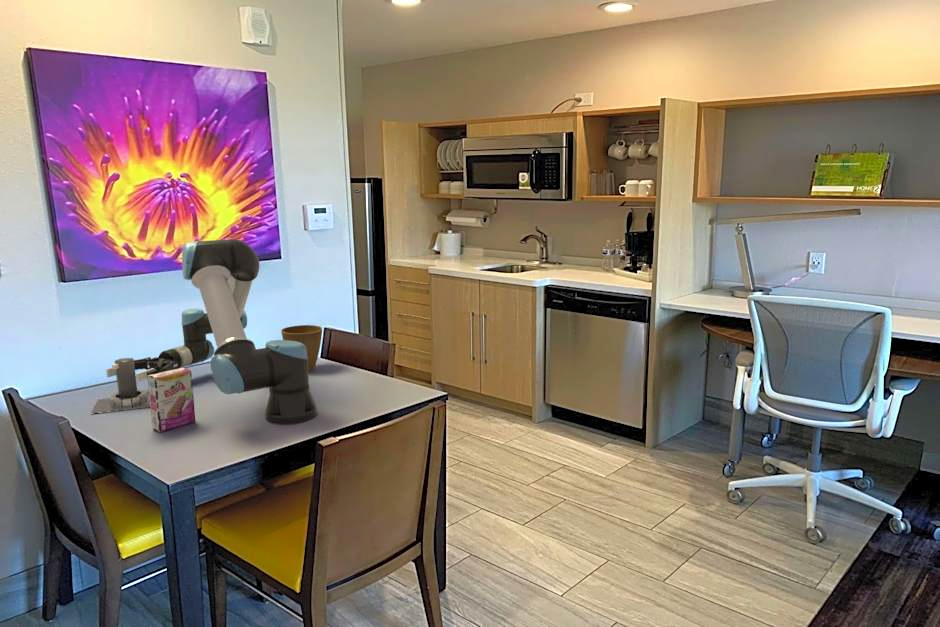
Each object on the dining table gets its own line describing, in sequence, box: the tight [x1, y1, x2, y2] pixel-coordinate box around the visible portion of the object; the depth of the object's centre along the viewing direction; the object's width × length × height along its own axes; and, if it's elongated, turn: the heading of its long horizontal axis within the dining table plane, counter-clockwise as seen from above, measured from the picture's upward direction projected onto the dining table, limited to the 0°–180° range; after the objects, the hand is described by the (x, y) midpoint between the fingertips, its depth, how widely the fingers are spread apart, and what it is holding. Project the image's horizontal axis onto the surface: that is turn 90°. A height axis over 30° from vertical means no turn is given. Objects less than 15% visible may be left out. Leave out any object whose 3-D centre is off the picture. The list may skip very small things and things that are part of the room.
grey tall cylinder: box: [111, 357, 138, 398], centre depth 219 cm, size 7×6×14 cm
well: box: [90, 389, 150, 414], centre depth 221 cm, size 14×20×3 cm
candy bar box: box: [147, 367, 196, 433], centre depth 199 cm, size 11×5×16 cm, turn 141°
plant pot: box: [280, 324, 323, 373], centre depth 255 cm, size 15×15×16 cm
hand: (121, 375), depth 218 cm, fingers open, 13 cm apart
